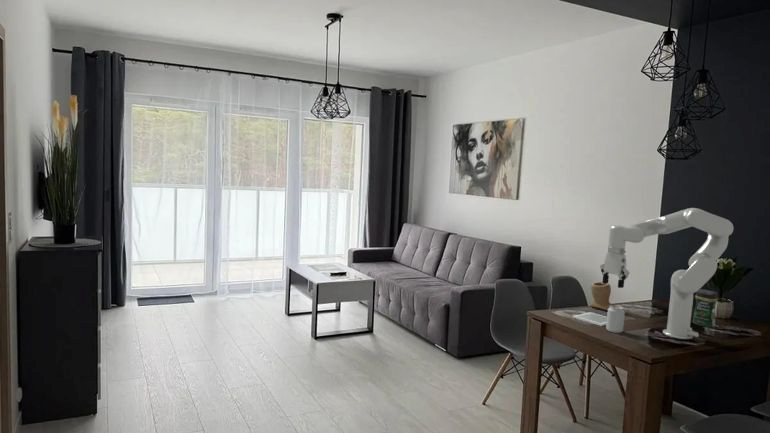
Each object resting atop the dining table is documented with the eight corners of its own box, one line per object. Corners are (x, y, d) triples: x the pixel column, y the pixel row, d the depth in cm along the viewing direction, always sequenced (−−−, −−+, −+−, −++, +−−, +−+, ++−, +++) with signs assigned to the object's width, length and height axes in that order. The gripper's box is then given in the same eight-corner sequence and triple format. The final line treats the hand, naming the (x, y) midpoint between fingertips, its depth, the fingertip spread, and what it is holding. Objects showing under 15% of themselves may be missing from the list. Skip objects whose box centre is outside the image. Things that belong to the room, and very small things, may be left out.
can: (619, 329, 259) (622, 305, 258) (625, 334, 252) (627, 309, 251) (603, 328, 260) (606, 304, 259) (608, 332, 253) (611, 308, 252)
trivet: (618, 321, 273) (618, 319, 273) (601, 326, 264) (601, 323, 264) (590, 314, 286) (590, 312, 286) (572, 317, 276) (573, 315, 276)
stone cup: (584, 306, 302) (586, 280, 300) (597, 304, 308) (599, 279, 307) (608, 313, 289) (610, 286, 288) (621, 311, 296) (623, 285, 294)
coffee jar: (689, 323, 278) (693, 288, 276) (696, 321, 283) (700, 287, 281) (710, 328, 270) (714, 292, 268) (716, 326, 275) (720, 291, 273)
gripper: (636, 253, 253) (632, 289, 255) (608, 248, 269) (605, 281, 271) (624, 254, 251) (621, 289, 252) (597, 248, 266) (593, 281, 268)
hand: (612, 285), depth 261 cm, fingers open, 9 cm apart
